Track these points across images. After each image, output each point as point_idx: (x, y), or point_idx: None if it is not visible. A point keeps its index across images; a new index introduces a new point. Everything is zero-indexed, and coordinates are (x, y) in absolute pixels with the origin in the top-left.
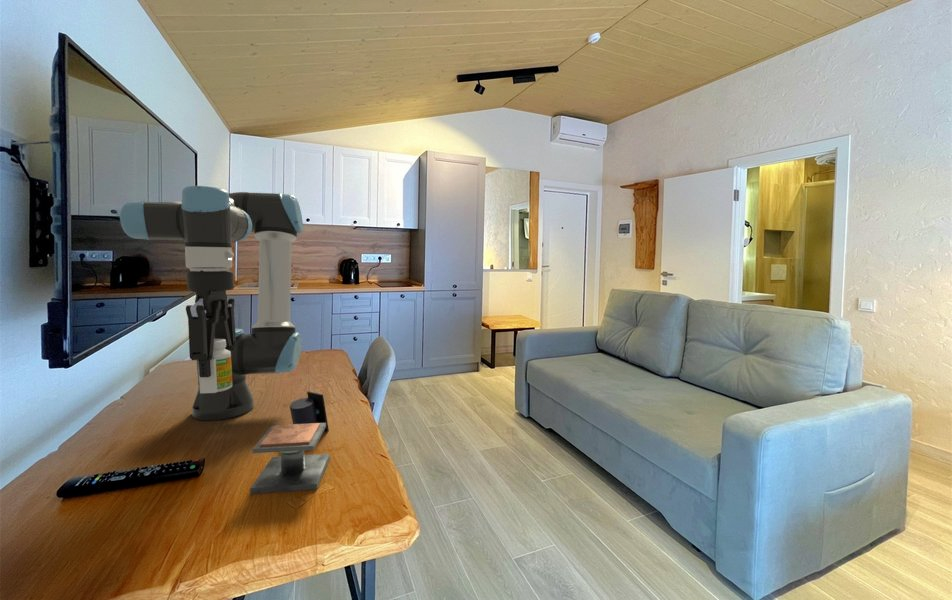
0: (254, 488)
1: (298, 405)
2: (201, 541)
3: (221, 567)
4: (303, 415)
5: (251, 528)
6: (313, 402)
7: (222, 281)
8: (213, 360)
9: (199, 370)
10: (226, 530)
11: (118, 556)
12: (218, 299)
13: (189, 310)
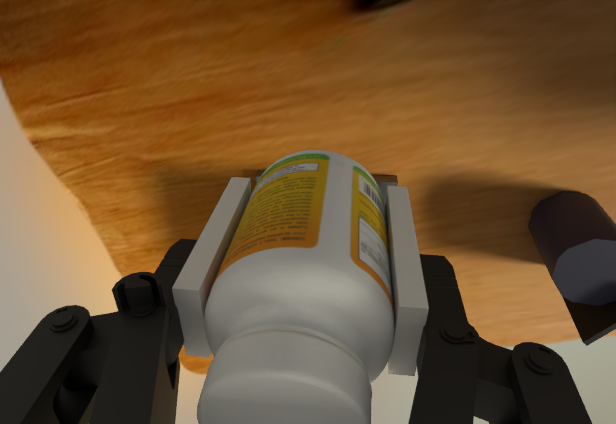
0: (256, 183)
1: (582, 264)
2: (116, 138)
3: (69, 190)
4: (545, 261)
5: (155, 203)
6: (585, 302)
7: None
8: (187, 349)
9: (161, 264)
10: (147, 167)
11: (59, 6)
12: None
13: None
